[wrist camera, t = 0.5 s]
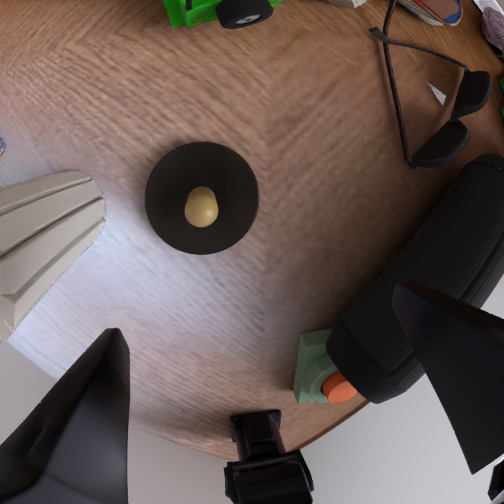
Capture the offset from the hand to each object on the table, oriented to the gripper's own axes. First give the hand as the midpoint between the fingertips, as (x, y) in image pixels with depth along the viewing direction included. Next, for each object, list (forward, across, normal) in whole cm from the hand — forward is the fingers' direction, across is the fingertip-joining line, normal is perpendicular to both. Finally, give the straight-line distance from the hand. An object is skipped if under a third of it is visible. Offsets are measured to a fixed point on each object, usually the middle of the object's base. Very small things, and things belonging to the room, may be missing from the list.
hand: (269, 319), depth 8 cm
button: (+9, -9, +19) cm, 22 cm away
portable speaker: (+13, -19, +8) cm, 24 cm away
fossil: (+18, -39, -26) cm, 50 cm away
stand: (+14, +2, 0) cm, 14 cm away
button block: (+12, -9, +19) cm, 24 cm away
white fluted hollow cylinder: (+14, +13, 0) cm, 19 cm away
